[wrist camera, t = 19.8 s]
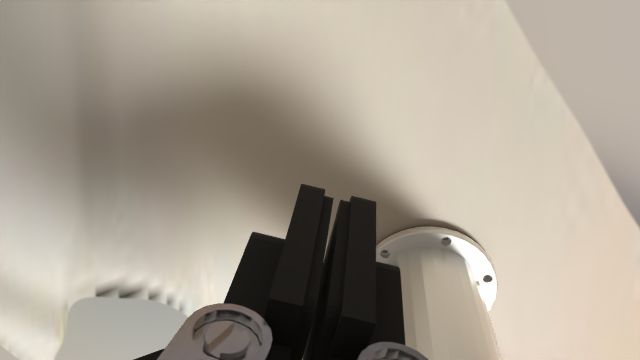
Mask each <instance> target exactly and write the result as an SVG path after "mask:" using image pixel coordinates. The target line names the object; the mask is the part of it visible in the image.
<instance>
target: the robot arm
mask: <svg viewBox="0 0 640 360" xmlns="http://www.w3.org/2000/svg"><path fill="white" fill-rule="evenodd" d="M324 194H325V189H321V188H316V187H312V186H308V185H304V184H301V187H300V190H299V194H298V197H297V201H296V204H295V208H294V211H293V215H292V218H291V222H290V225H289V229H288V232H287V236H286V239H281V238H277V237H273V236H269V235H265V234H261V233H256V232H252V234H251V236H250V239H249V241H248V244H247V246H246V249H245V251H244V254H243V256H242V259H241V261H240V263H239V266H238V268H237V271H236V273H235V276H234V278H233V281H232V283H231V286H230V288H229V291H228V293H227V296H226V298H225V301H224V303H223V304H220V303H218V304H213V305H209V306H205V307H203V308H201V309H199V310H197V311H195V312H194V313H193V314H192V315H191V316H190V317H189V318H187V320H186V321H185V323H184V324H183V325H182V326H181V328H180V329H179V330H178V332H177V333H176V334H175V336H174V337H173V339H172V340H171V341H170V343H169V344H168V346H167V347H166V348H165V349H162V350H159V351H156V352H154V353H151V354H148V355H145V356H143V357H140V358H137V359H134V360H302V358H303V360H502V358H501V354H500V351H499V347H498V344H497V341H496V337H495V334H494V330H493V327H492V323H491V320H490V317H489V311H490V310H491V308H492V306H493V304H494V301H495V298H496V295H497V278H496V273H495V270H494V267H493V264H492V262H491V260H490V258H489V257H488V255H487V253H486V252H485V251H484V250H483V249H482V247H481V246H480V245H479V244H477V243H476V242H475V241H473V240H472V239H471V238H469V237H468V236H466V235H464V234H461V233H459V232H457V231H454V230H450V229H447V228H441V227H433V226H428V227H415V228H411V229H406V230H403V231H400V232H398V233H395V234H393V235H391V236H389V237H387V238H386V239H384V240H383V241H381V242H380V243H379V244H378V245H377V246H376V202H374V201H370V200H366V199H362V198H358V197H354V196H351V198H350V201H349V202H347V201H343V200H341V201H340V203H339V207H338V211H337V214H336V218H335V222H334V225H333V229H332V233H331V236H330V240H329V244H328V247H327V251H326V255H325V248H326V242H327V235H328V229H329V223H330V216H331V210H332V203H333V198H330V197H326V196H324ZM444 237H447V238H444ZM324 255H325V258H324ZM323 261H324V262H323Z"/></svg>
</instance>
